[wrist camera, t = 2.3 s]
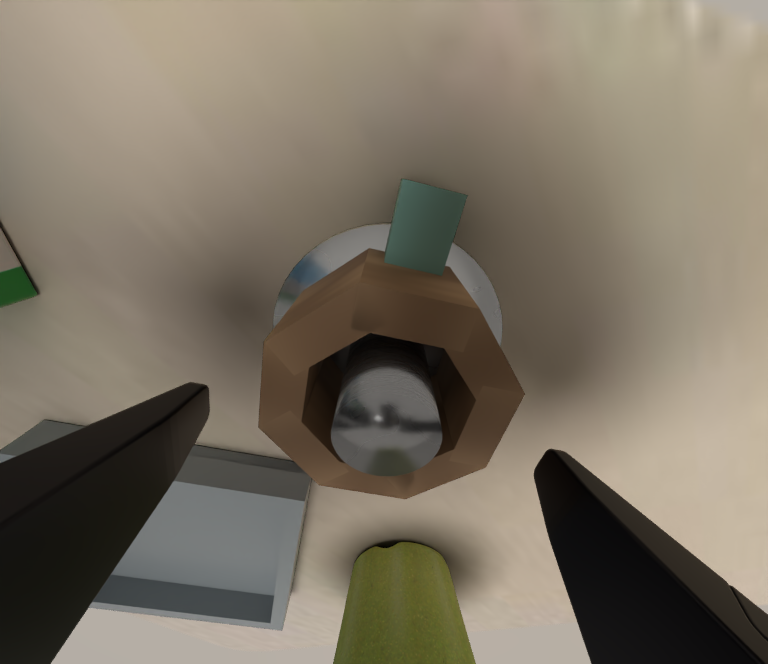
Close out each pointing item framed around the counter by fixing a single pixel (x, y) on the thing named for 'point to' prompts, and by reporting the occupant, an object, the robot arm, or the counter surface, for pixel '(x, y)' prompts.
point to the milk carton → (12, 276)
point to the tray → (208, 539)
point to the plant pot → (402, 610)
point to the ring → (397, 320)
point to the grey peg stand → (385, 365)
